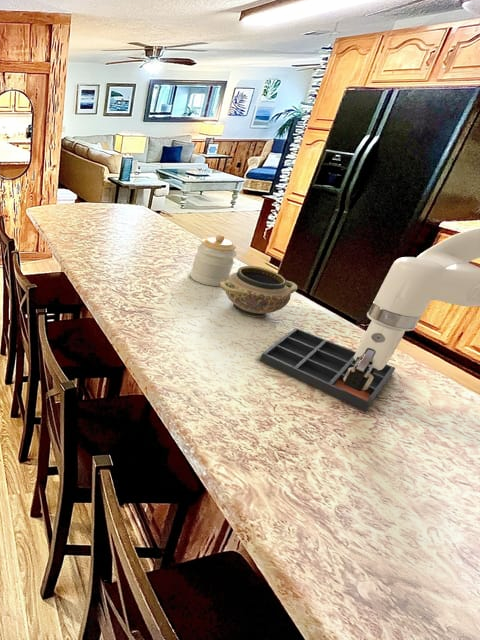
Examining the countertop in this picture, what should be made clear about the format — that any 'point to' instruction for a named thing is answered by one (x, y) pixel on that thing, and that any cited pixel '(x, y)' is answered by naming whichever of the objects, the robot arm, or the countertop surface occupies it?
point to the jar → (213, 261)
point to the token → (366, 382)
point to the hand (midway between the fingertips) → (356, 382)
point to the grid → (323, 366)
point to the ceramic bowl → (257, 291)
